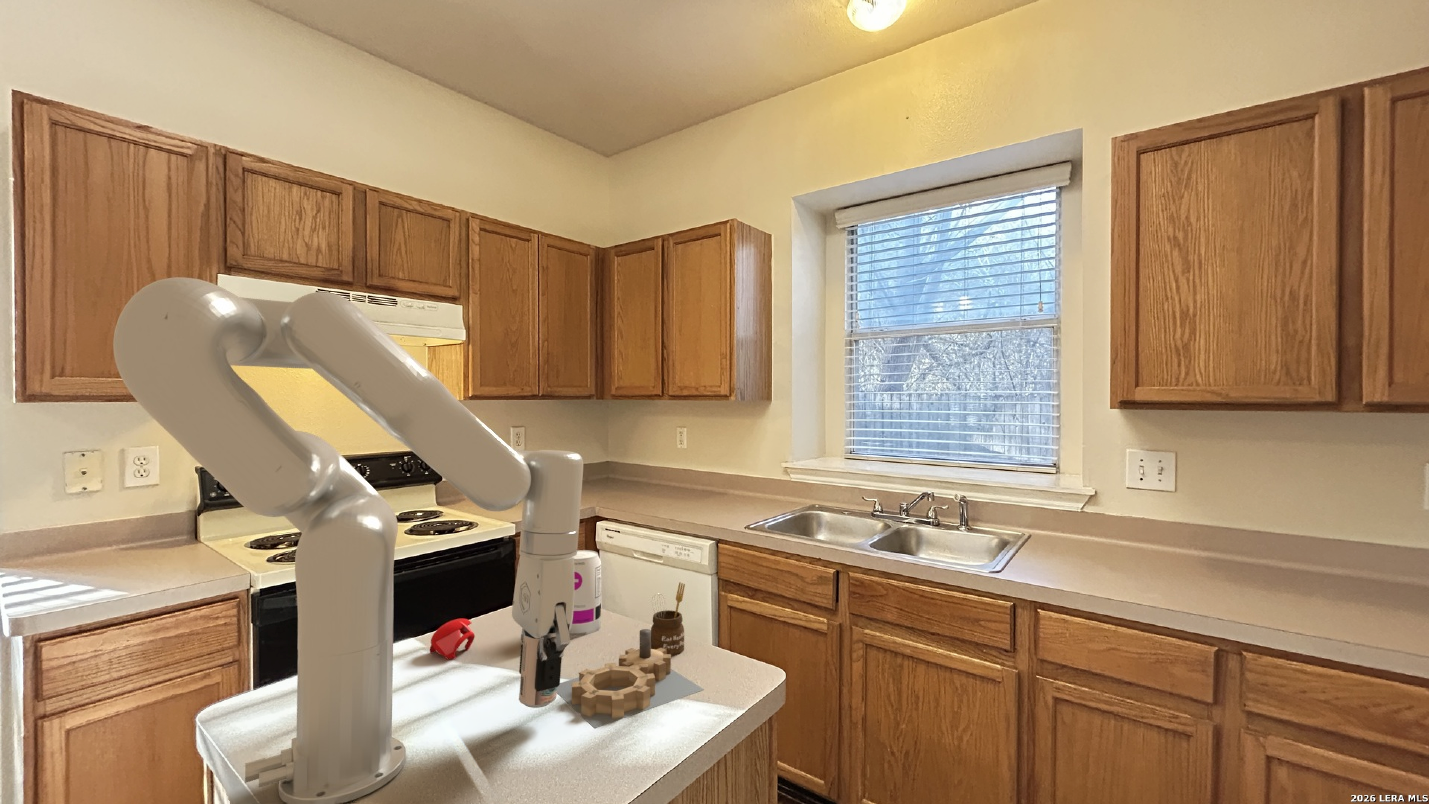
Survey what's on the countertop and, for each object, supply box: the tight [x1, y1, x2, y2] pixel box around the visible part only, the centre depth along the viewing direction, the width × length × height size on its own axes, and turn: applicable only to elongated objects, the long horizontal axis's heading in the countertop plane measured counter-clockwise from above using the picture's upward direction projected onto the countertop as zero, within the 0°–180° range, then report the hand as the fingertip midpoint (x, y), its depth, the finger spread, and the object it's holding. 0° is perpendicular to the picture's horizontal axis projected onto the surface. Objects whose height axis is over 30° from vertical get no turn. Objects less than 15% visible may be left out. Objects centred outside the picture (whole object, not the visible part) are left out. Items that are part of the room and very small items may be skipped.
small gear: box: [618, 628, 672, 681], centre depth 95 cm, size 8×8×6 cm
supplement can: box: [569, 549, 602, 640], centre depth 115 cm, size 8×8×15 cm
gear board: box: [556, 668, 705, 729], centre depth 90 cm, size 18×15×1 cm
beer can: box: [518, 628, 558, 709], centre depth 79 cm, size 5×5×12 cm
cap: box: [429, 618, 476, 660], centre depth 104 cm, size 8×6×6 cm
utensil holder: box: [650, 581, 686, 657], centre depth 104 cm, size 6×6×12 cm
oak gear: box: [572, 662, 655, 718], centre depth 87 cm, size 12×12×2 cm
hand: (539, 678), depth 79 cm, fingers closed on beer can, 4 cm apart
